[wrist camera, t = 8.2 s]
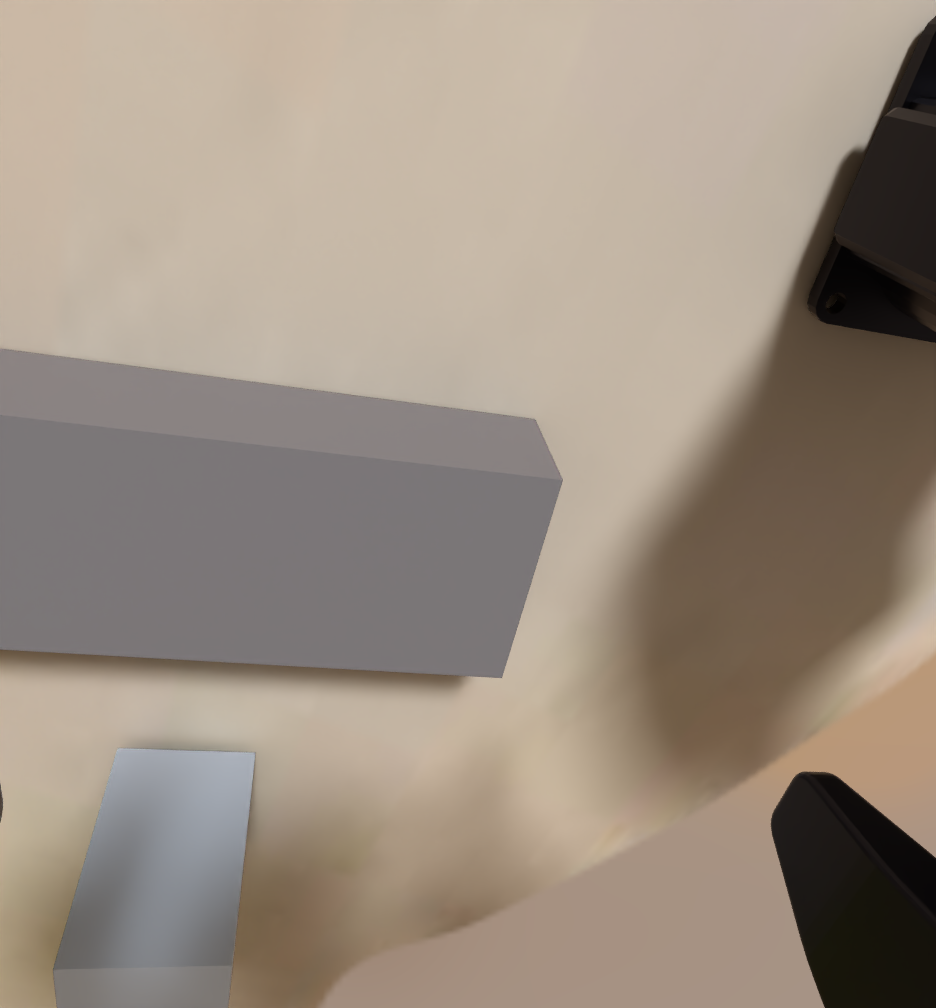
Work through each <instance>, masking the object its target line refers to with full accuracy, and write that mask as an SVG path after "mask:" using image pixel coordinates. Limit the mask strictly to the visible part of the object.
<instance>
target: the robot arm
mask: <svg viewBox="0 0 936 1008" xmlns="http://www.w3.org/2000/svg"><path fill="white" fill-rule="evenodd" d="M834 232H835V236H834V239H833V241H832V243H831V246H830V248H829V250H828V252H827V255H826V257H825V259H824V262H823V264H822V266H821V269H820V271H819V273H818V276H817V278H816V280H815V283H814V285H813V287H812V290H811V292H810V294H809V298H808V302H807V304H808V310H809V311H810V313H811V314H812V315H813V316H814V317H816V318H817V319H819V320H820V321H822V322H824V323H827V324H832V325H838V326H843V327H849V328H855V329H861V330H866V331H872V332H878V333H884V334H889V335H895V336H901V337H907V338H912V339H918V340H924V341H929V342H935V343H936V16H935V17H934V18H933V19H932V20H931V21H930V22H929V23H928V24H927V26H926V27H925V29H924V31H923V32H922V34H921V36H920V39H919V41H918V43H917V46H916V48H915V50H914V53H913V55H912V57H911V60H910V62H909V64H908V67H907V69H906V71H905V74H904V76H903V78H902V81H901V83H900V85H899V88H898V90H897V92H896V95H895V97H894V99H893V101H892V104H891V106H890V108H889V111H888V113H887V114H886V115H885V116H884V117H883V118H882V119H881V121H880V124H879V126H878V128H877V131H876V133H875V135H874V138H873V140H872V142H871V145H870V147H869V149H868V152H867V154H866V156H865V159H864V161H863V163H862V166H861V168H860V170H859V173H858V175H857V177H856V180H855V182H854V184H853V187H852V189H851V191H850V194H849V196H848V198H847V201H846V203H845V205H844V208H843V210H842V212H841V215H840V217H839V219H838V222H837V224H836V226H835V229H834ZM835 293H838V297H837V300H836V302H835V303H834V304H833V305H832V306H830V307H829V308H826V302H827V300H828V299H829V298H830V296H832V295H834V294H835ZM2 810H3V798H2V792H1V785H0V822H1V817H2ZM771 829H772V836H773V839H774V843H775V847H776V851H777V854H778V858H779V861H780V865H781V868H782V872H783V876H784V879H785V883H786V887H787V891H788V894H789V897H790V901H791V905H792V909H793V912H794V916H795V919H796V923H797V927H798V930H799V934H800V937H801V941H802V944H803V947H804V951H805V954H806V957H807V961H808V963H809V966H810V969H811V972H812V975H813V977H814V980H815V983H816V986H817V989H818V991H819V994H820V996H821V999H822V1002H823V1004H824V1007H825V1008H936V858H935V857H934V856H933V855H932V854H930V853H929V852H928V851H927V850H926V849H924V848H923V847H922V846H921V845H920V844H918V843H917V842H916V841H915V840H913V839H912V838H911V837H910V836H909V835H907V834H906V833H905V832H904V831H903V830H901V829H900V828H899V827H898V826H897V825H895V824H894V823H893V822H892V821H891V820H889V819H888V818H887V817H886V816H884V815H883V814H882V813H881V812H879V811H878V810H877V809H876V808H875V807H874V806H872V805H871V804H870V803H869V802H867V801H866V800H865V799H864V798H863V797H861V796H860V795H859V794H858V793H856V792H855V791H854V790H853V789H852V788H850V787H849V786H848V785H847V784H846V783H844V782H843V781H842V780H841V779H840V778H838V777H837V776H835V775H833V774H830V773H826V772H801V773H799V774H797V775H796V776H795V777H794V778H793V780H792V782H791V783H790V785H789V787H788V788H787V790H786V791H785V794H784V795H783V796H782V798H781V800H780V802H779V803H778V805H777V806H776V808H775V810H774V812H773V814H772V818H771Z"/></svg>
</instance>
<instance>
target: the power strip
mask: <svg viewBox="0 0 936 1008" xmlns="http://www.w3.org/2000/svg"><path fill="white" fill-rule="evenodd" d="M562 481H563V479H562V477H561V475H560V473H559V471H558V468H557V466H556V464H555V462H554V460H553V457H552V455H551V453H550V451H549V449H548V446H547V444H546V442H545V440H544V438H543V435H542V433H541V431H540V429H539V427H538V424H537V422H536V420H535V419H529V418H521V417H514V416H506V415H499V414H491V413H484V412H476V411H468V410H461V409H453V408H446V407H438V406H431V405H423V404H415V403H408V402H400V401H393V400H385V399H378V398H370V397H362V396H355V395H347V394H340V393H332V392H325V391H317V390H309V389H302V388H294V387H287V386H279V385H272V384H264V383H256V382H249V381H241V380H234V379H226V378H219V377H211V376H203V375H196V374H188V373H181V372H173V371H166V370H158V369H150V368H143V367H135V366H128V365H120V364H113V363H105V362H97V361H90V360H82V359H75V358H67V357H60V356H52V355H44V354H37V353H29V352H22V351H14V350H7V349H0V650H17V651H35V652H53V653H70V654H88V655H105V656H123V657H141V658H158V659H176V660H193V661H211V662H228V663H246V664H264V665H281V666H299V667H316V668H334V669H352V670H369V671H387V672H404V673H422V674H439V675H457V676H475V677H492V678H502V676H503V673H504V669H505V666H506V663H507V660H508V656H509V653H510V650H511V647H512V643H513V640H514V637H515V634H516V630H517V627H518V624H519V621H520V617H521V614H522V611H523V608H524V604H525V601H526V598H527V595H528V591H529V588H530V585H531V582H532V578H533V575H534V572H535V569H536V565H537V562H538V559H539V556H540V552H541V549H542V546H543V543H544V539H545V536H546V533H547V530H548V526H549V523H550V520H551V517H552V513H553V510H554V507H555V504H556V500H557V497H558V494H559V491H560V487H561V484H562Z"/></svg>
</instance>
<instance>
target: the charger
mask: <svg viewBox="0 0 936 1008" xmlns="http://www.w3.org/2000/svg"><path fill="white" fill-rule="evenodd" d="M254 762H255V753H251V752H221V751H191V750H161V749H131V748H118V749H117V752H116V756H115V759H114V762H113V766H112V769H111V773H110V776H109V780H108V783H107V786H106V790H105V793H104V797H103V800H102V803H101V807H100V810H99V814H98V817H97V821H96V824H95V827H94V831H93V834H92V838H91V841H90V845H89V848H88V851H87V855H86V858H85V862H84V865H83V868H82V872H81V875H80V879H79V882H78V886H77V889H76V892H75V896H74V899H73V903H72V906H71V910H70V913H69V916H68V920H67V923H66V927H65V930H64V933H63V937H62V940H61V944H60V947H59V951H58V954H57V957H56V961H55V964H54V968H53V975H54V985H55V994H56V1004H57V1008H228V1006H229V997H230V987H231V978H232V969H233V960H234V951H235V942H236V933H237V923H238V914H239V905H240V896H241V887H242V878H243V868H244V859H245V850H246V840H247V830H248V821H249V811H250V801H251V791H252V782H253V772H254Z"/></svg>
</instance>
